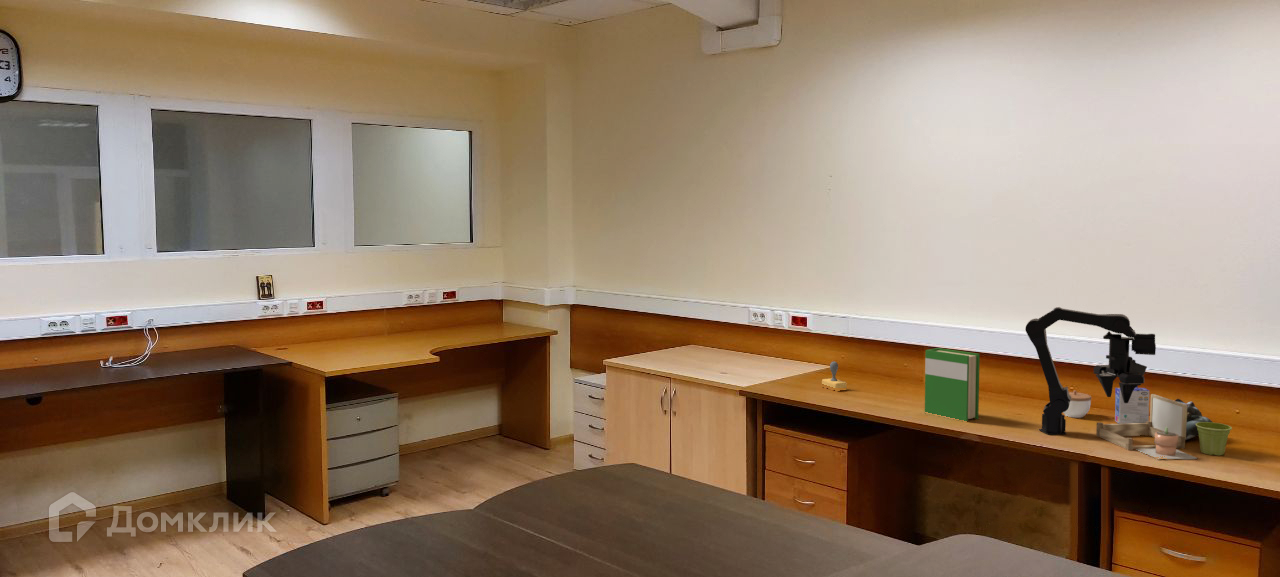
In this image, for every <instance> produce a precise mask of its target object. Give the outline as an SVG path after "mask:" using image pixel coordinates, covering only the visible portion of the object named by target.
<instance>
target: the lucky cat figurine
mask: <svg viewBox="0 0 1280 577" xmlns="http://www.w3.org/2000/svg"><path fill="white" fill-rule="evenodd" d="M1174 401H1176V402H1179V403H1183V404H1186V405H1187V423H1186V439H1185V441H1187V440H1190V439H1192V438H1195V437H1199V432H1198V430H1197V426H1196V423H1198V422H1213V420H1212V419H1210V418H1208V417H1206V416H1203V414H1202V412H1201V411H1200V410H1199V408H1198V407H1196V405H1195V403H1194V402H1193V401H1188V402H1187V403H1186V402H1185V401H1184V400H1181V399H1180V398H1176V399H1175V400H1174Z"/></svg>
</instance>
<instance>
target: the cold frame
mask: <svg viewBox="0 0 1280 577" xmlns="http://www.w3.org/2000/svg"><path fill="white" fill-rule="evenodd" d="M1155 432H1165V431H1162V430H1159V429H1157V428H1154V427H1152V422H1150V420H1149V421H1146V423H1127V424H1119V423H1103V422H1096V433H1095V434H1096V435H1095V437H1098V438H1100V439H1103V440H1106V441H1107V442H1109V443H1112V444H1115V445H1116V446H1119V447H1121V448H1124V449H1125V448H1126V449H1125V450H1127V449H1128V450H1127V451H1134V450H1133V449H1152V448H1156V444H1155V445H1153V444H1151V445H1150V444H1148V445H1147V444H1145V445H1134V439H1133V438H1132V437H1135V436H1137V437H1139V436H1140V435H1145V436H1148V435H1149V437H1151V436H1152V438H1154V437H1155ZM1185 446H1186V440H1185V437H1182V436H1178V446H1176V448H1177V449H1180V448H1183V449H1186V447H1185Z"/></svg>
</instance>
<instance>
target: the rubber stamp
mask: <svg viewBox="0 0 1280 577" xmlns="http://www.w3.org/2000/svg"><path fill="white" fill-rule="evenodd" d="M829 369H830V372H831V376H832V377H831V378H823V379H822V380H821V385H822V384H824V385H827V386H830V387H833V388H846V389H847V382H846V381H843V380H840V379H838V378H836V375H837V372H838V369H839V364H838V363H837V362H836V361H831V362H830V364H829Z"/></svg>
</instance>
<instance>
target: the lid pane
mask: <svg viewBox="0 0 1280 577" xmlns="http://www.w3.org/2000/svg"><path fill="white" fill-rule="evenodd" d="M1149 421H1150V422H1152V427H1154V428H1157V429H1159V430H1162V431H1165V428H1166V427H1167V428H1168V432H1171V433H1175V434H1178V436H1182V437H1185V439H1186V423H1187V405H1186V404H1183V403H1179V402H1176V401H1175V400H1173V399H1170V398H1167V397H1164V396H1161V395H1158V394H1155V393H1151V394H1150V402H1149Z"/></svg>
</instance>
